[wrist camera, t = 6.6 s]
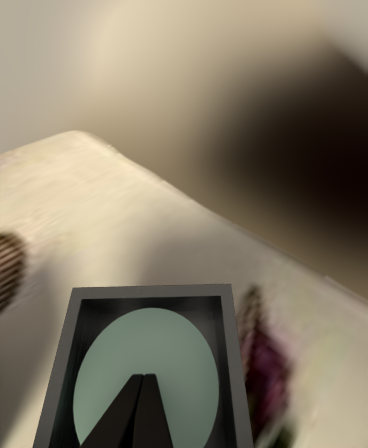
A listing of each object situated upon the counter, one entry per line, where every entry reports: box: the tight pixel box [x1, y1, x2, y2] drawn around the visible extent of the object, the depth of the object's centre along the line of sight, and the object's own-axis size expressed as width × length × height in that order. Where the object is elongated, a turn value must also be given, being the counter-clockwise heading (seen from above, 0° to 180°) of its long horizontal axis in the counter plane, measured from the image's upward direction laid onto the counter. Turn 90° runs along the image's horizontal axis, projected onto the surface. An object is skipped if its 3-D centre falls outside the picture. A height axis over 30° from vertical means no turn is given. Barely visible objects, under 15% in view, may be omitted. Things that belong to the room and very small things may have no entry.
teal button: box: [73, 308, 219, 448], centre depth 9 cm, size 5×5×2 cm
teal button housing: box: [33, 284, 253, 448], centre depth 11 cm, size 7×7×8 cm
